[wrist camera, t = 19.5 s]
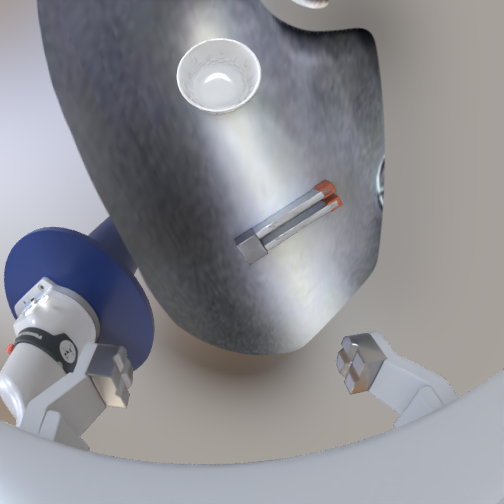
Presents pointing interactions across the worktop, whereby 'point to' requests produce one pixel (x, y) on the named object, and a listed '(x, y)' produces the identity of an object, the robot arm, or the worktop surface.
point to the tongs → (258, 248)
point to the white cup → (219, 75)
